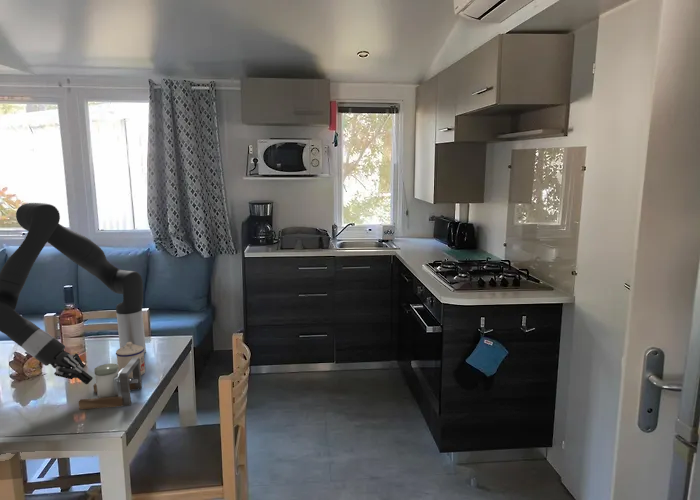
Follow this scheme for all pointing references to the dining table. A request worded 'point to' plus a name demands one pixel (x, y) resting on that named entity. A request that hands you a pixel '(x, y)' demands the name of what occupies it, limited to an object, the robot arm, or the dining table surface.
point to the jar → (105, 379)
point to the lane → (125, 389)
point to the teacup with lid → (130, 356)
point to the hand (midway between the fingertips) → (90, 381)
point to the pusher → (118, 385)
